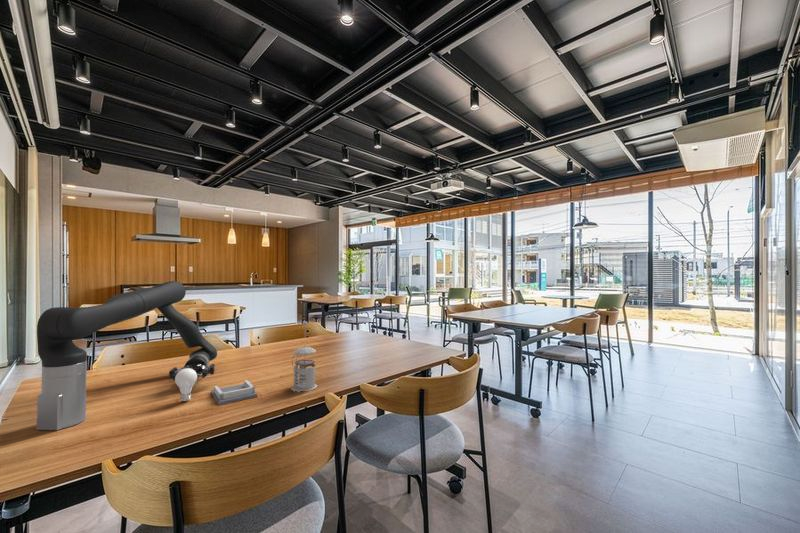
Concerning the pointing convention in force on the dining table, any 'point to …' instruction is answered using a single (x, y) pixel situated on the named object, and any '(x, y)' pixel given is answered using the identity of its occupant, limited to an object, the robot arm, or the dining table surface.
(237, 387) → the u holder
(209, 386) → the dining table surface
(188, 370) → the lightbulb
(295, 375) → the french press
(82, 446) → the dining table surface
